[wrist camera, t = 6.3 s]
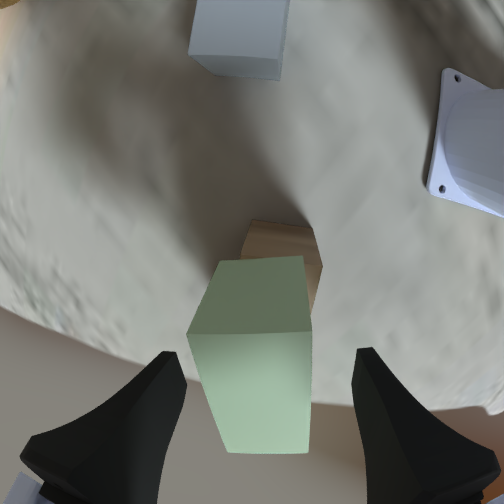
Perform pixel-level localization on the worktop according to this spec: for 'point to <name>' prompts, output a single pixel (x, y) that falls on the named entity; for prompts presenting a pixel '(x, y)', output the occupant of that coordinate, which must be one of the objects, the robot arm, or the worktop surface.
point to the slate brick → (240, 37)
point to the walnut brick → (285, 248)
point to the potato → (7, 3)
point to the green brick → (256, 354)
